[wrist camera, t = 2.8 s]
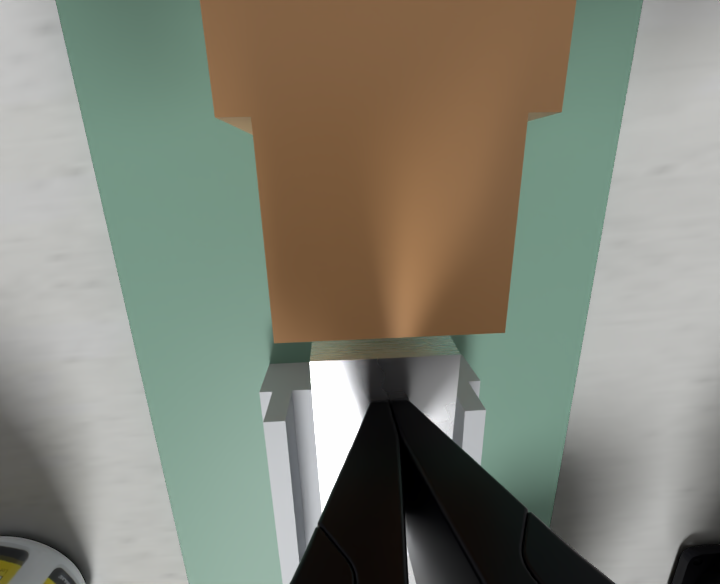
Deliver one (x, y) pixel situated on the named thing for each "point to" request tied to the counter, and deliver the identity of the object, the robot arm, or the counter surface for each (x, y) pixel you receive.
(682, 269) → the counter surface
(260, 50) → the orange stepped block
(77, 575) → the pill bottle
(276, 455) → the heatsink board
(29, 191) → the counter surface
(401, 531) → the robot arm
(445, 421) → the flat grey bar
